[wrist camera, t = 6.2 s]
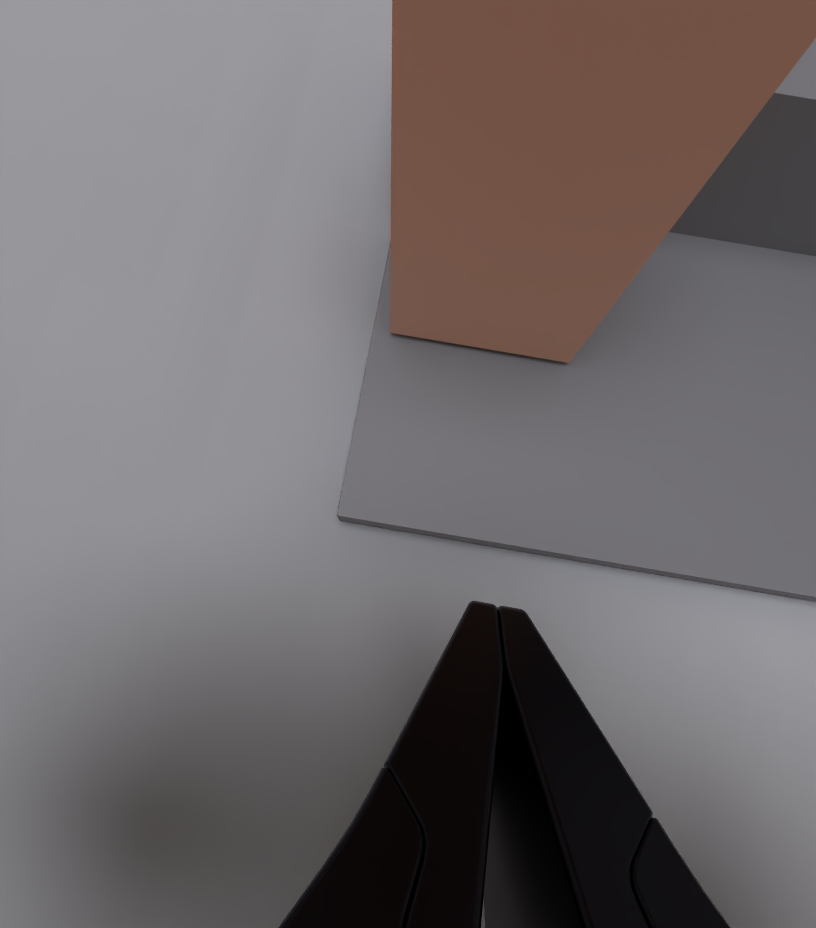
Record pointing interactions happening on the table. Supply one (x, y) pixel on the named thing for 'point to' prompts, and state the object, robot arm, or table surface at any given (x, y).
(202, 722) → the table surface
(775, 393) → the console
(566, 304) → the key
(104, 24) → the table surface
